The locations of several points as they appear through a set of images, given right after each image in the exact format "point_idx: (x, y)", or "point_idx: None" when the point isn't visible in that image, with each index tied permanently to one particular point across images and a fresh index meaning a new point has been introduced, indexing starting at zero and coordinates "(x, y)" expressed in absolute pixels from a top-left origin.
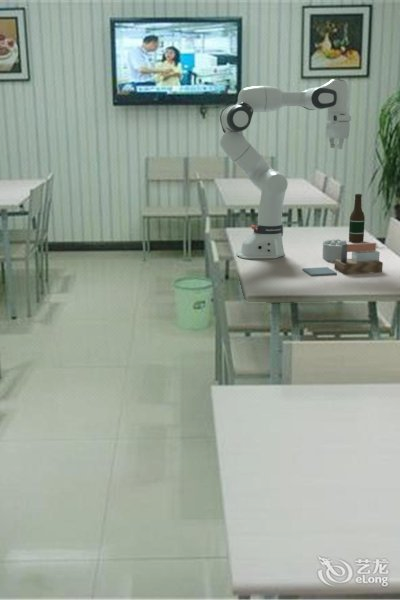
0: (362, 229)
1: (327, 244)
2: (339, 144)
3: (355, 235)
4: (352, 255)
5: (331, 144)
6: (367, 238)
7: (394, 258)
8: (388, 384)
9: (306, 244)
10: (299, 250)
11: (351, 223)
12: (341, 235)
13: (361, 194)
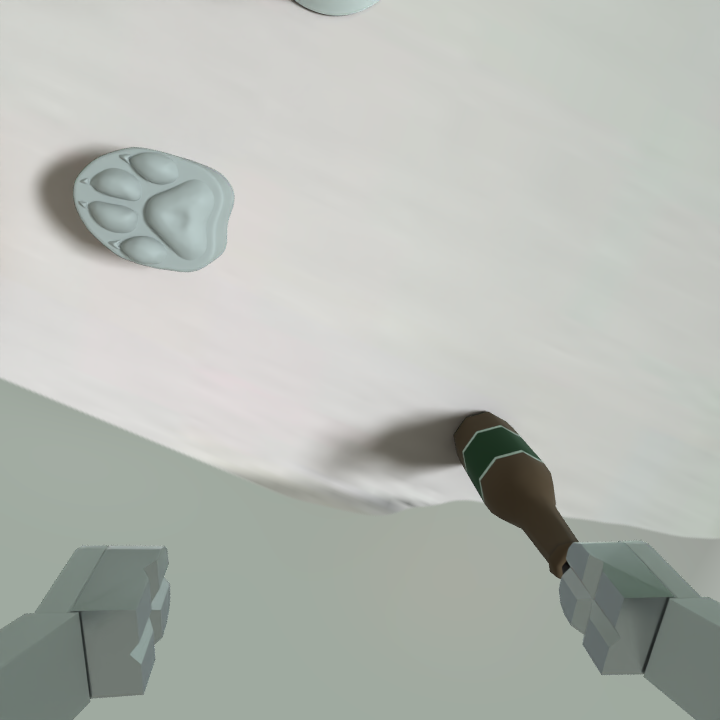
0: (470, 475)
1: (121, 154)
2: (11, 633)
3: (468, 437)
4: None
5: (614, 592)
6: None
7: (134, 433)
8: None
9: (499, 220)
10: (385, 130)
11: (503, 448)
12: (610, 433)
13: None
